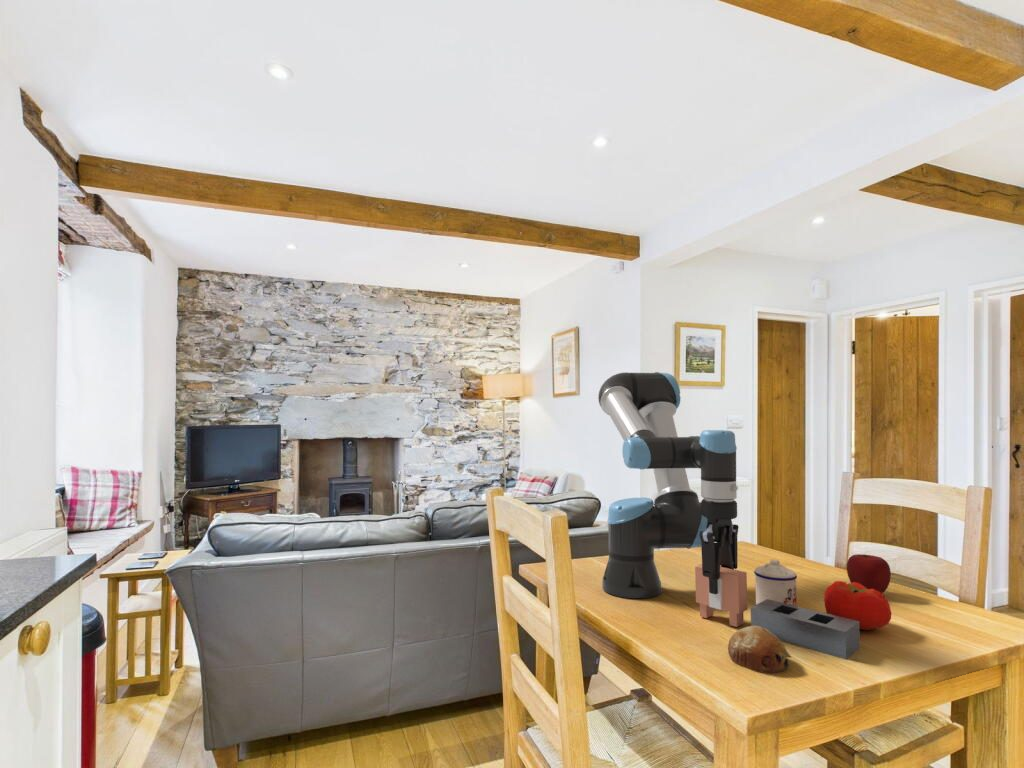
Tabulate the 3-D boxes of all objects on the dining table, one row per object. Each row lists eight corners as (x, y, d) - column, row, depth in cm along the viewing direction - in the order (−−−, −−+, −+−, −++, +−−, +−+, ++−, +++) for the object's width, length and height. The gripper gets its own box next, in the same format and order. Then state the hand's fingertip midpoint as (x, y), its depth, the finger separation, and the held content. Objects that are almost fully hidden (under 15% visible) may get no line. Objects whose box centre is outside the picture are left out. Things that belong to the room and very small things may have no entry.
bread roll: (762, 669, 108) (746, 625, 112) (806, 664, 101) (788, 617, 104) (727, 680, 104) (711, 634, 107) (770, 676, 96) (752, 627, 99)
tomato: (887, 644, 111) (885, 599, 111) (817, 629, 119) (815, 587, 119) (896, 624, 121) (895, 583, 122) (831, 611, 129) (829, 573, 130)
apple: (867, 586, 148) (866, 548, 148) (901, 598, 138) (899, 557, 139) (838, 589, 145) (837, 551, 146) (871, 601, 136) (869, 560, 137)
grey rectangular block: (751, 631, 118) (750, 607, 118) (767, 622, 123) (766, 599, 123) (846, 659, 104) (845, 631, 104) (860, 647, 110) (859, 621, 110)
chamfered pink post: (696, 615, 126) (695, 566, 127) (705, 611, 129) (704, 563, 129) (739, 628, 119) (737, 576, 119) (747, 623, 121) (746, 572, 122)
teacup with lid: (792, 620, 124) (790, 567, 124) (749, 611, 129) (748, 560, 130) (805, 606, 133) (803, 556, 134) (765, 598, 139) (763, 551, 139)
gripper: (715, 505, 116) (718, 619, 115) (752, 497, 128) (755, 600, 127) (683, 501, 122) (685, 610, 121) (721, 493, 133) (723, 592, 132)
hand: (721, 605), depth 124 cm, fingers closed on chamfered pink post, 4 cm apart
